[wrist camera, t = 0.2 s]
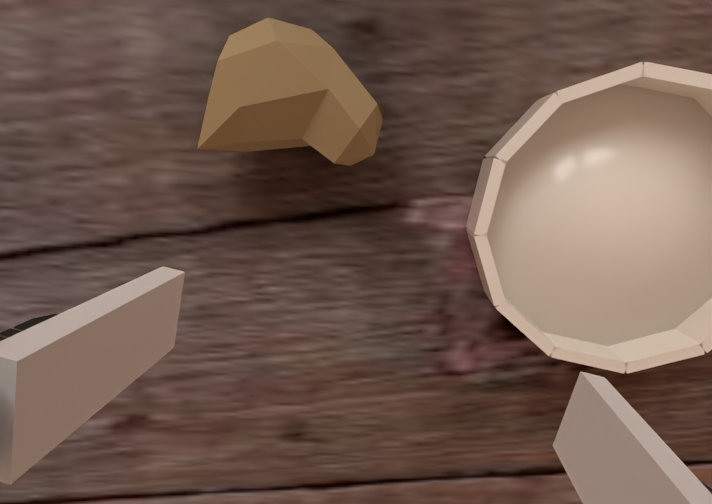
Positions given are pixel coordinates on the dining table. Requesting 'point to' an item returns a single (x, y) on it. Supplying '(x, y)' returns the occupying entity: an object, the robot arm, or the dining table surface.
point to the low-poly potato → (288, 97)
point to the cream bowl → (604, 220)
